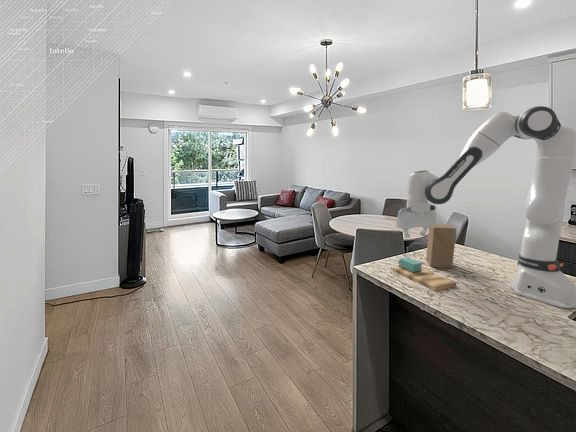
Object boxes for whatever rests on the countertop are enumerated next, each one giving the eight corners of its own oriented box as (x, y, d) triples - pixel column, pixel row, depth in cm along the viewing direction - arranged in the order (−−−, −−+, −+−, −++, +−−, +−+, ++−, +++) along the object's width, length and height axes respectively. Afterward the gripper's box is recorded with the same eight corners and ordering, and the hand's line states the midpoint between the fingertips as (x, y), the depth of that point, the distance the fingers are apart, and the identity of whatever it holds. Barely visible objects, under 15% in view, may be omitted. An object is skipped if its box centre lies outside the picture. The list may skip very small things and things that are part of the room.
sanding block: (421, 271, 143) (421, 263, 142) (412, 272, 141) (413, 264, 140) (406, 265, 151) (407, 257, 151) (398, 266, 149) (399, 258, 149)
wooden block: (452, 268, 151) (456, 228, 148) (430, 267, 153) (434, 227, 150) (446, 262, 161) (450, 224, 157) (425, 260, 163) (429, 223, 159)
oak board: (456, 286, 130) (456, 282, 130) (434, 290, 126) (435, 287, 125) (411, 267, 153) (412, 264, 153) (392, 270, 149) (392, 267, 148)
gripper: (404, 209, 134) (402, 240, 136) (439, 206, 142) (437, 235, 144) (393, 207, 140) (392, 237, 142) (428, 204, 147) (426, 233, 150)
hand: (415, 236), depth 143 cm, fingers open, 8 cm apart
